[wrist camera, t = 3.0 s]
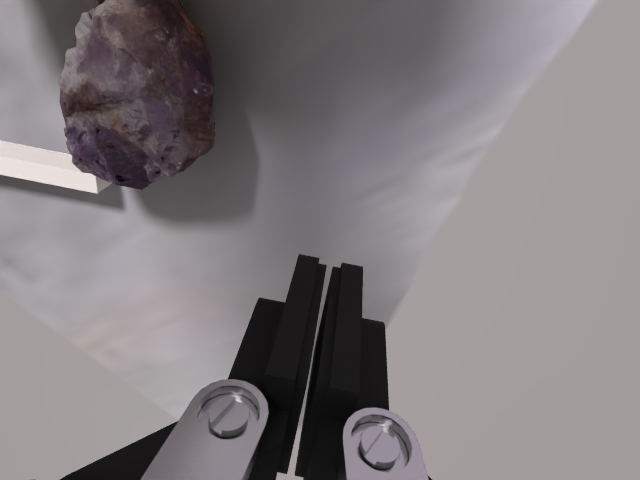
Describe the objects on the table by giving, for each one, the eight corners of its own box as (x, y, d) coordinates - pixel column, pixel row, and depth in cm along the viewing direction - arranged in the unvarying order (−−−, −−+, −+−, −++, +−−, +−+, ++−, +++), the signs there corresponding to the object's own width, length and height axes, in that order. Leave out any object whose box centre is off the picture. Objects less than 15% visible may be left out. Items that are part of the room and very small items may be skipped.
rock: (105, 113, 31) (229, 168, 32) (20, 167, 24) (180, 233, 25) (110, -67, 24) (272, 10, 25) (-10, -59, 17) (218, 46, 18)
